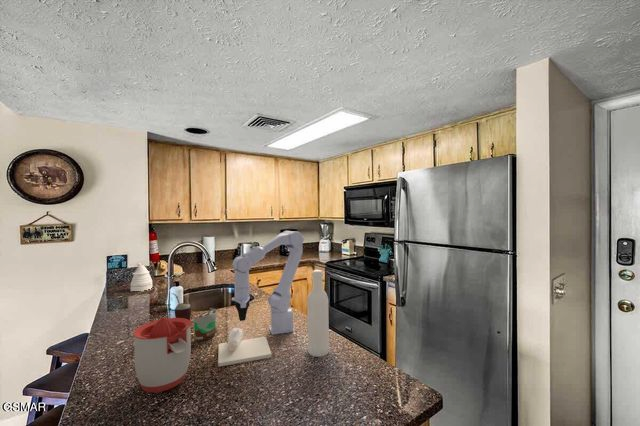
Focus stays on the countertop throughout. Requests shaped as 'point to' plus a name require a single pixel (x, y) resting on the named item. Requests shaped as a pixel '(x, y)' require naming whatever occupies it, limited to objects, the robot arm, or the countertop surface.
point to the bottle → (318, 318)
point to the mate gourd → (182, 310)
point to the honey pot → (141, 279)
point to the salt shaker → (234, 338)
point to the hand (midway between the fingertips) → (242, 320)
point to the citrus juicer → (162, 353)
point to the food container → (205, 325)
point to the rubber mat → (244, 351)
